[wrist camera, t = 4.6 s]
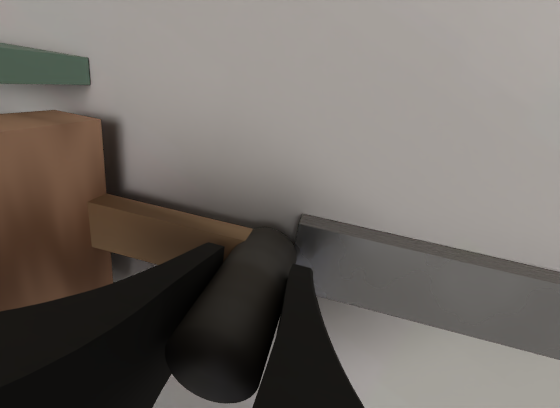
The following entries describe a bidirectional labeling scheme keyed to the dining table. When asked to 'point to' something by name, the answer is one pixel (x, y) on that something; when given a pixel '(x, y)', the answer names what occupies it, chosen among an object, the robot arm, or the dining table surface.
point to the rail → (433, 284)
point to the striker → (132, 251)
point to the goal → (41, 67)
